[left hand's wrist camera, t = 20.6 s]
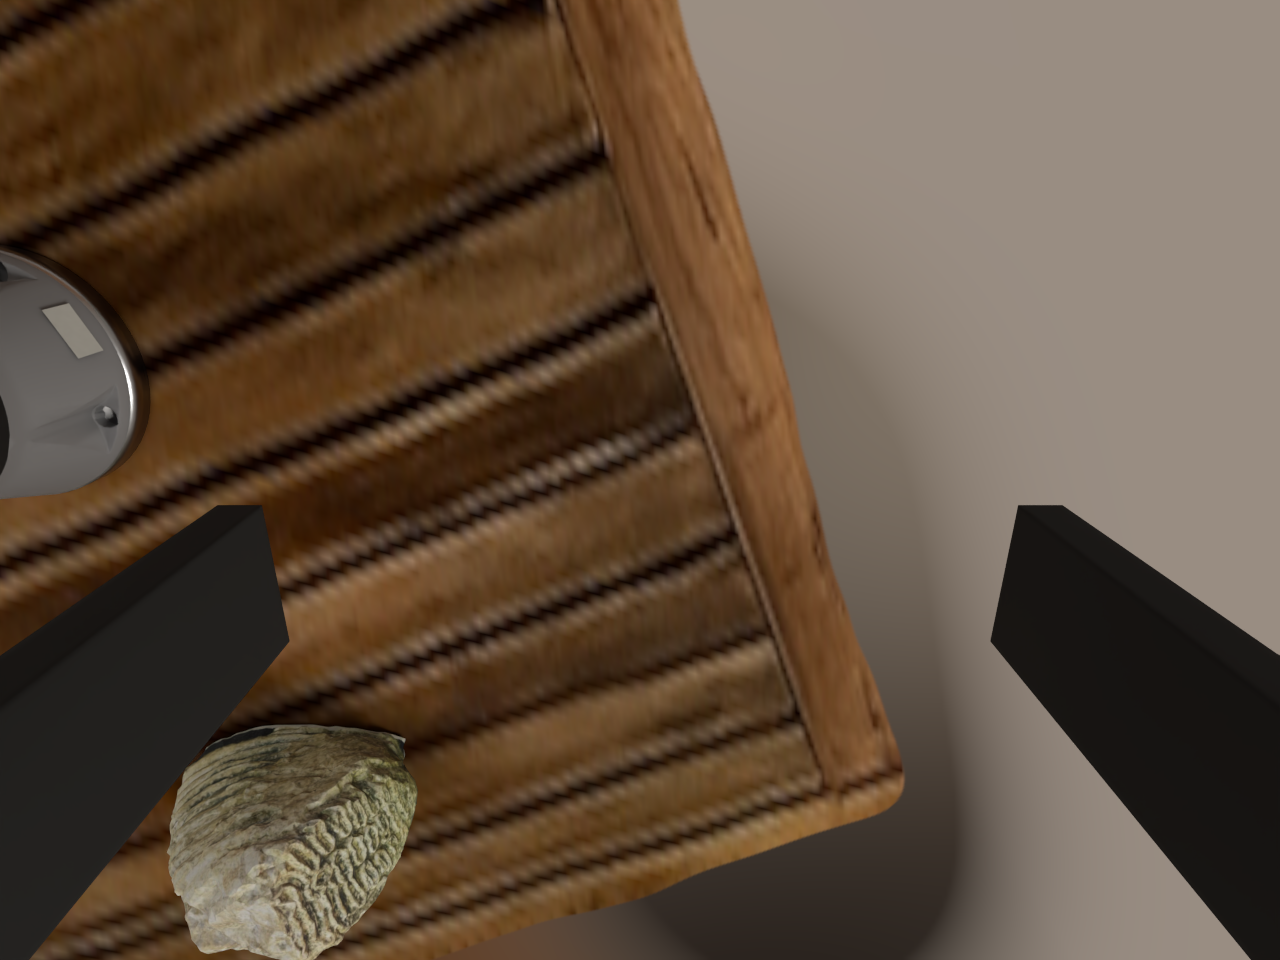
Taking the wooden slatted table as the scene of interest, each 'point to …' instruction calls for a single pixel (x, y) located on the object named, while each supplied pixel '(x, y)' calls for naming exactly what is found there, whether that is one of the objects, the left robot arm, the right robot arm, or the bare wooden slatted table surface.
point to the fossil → (288, 836)
